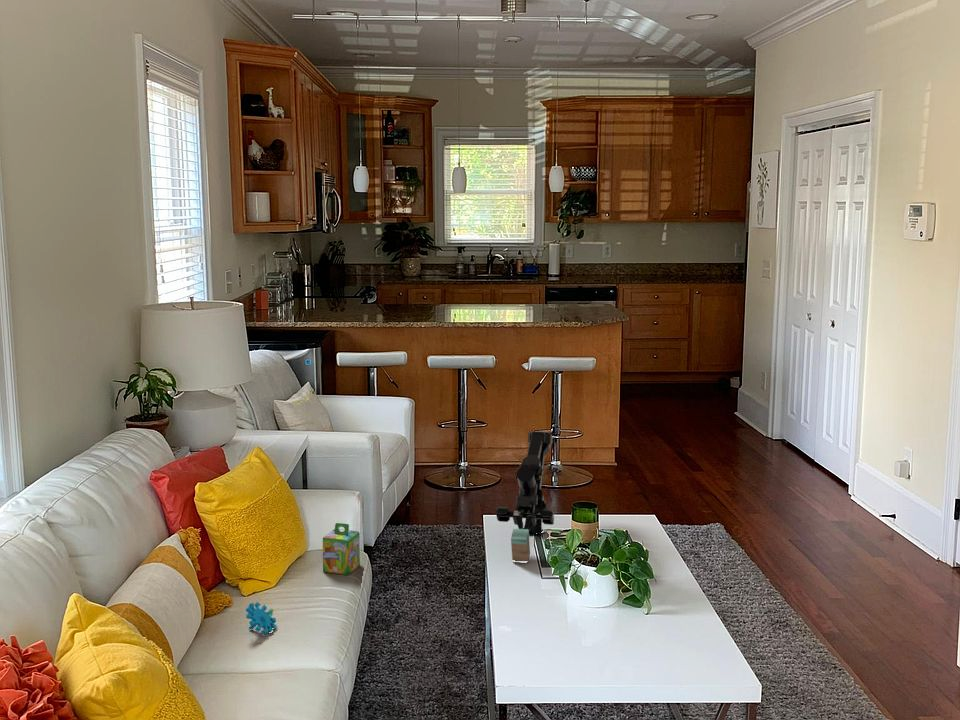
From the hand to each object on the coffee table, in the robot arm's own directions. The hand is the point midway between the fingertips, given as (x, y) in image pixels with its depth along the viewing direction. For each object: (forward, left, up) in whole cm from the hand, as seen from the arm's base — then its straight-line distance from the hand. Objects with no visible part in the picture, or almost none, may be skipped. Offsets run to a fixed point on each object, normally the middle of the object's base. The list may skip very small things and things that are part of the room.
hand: (522, 539), depth 309 cm
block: (+1, -1, -6) cm, 6 cm away
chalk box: (-16, -56, -7) cm, 59 cm away
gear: (+17, -87, -7) cm, 89 cm away
